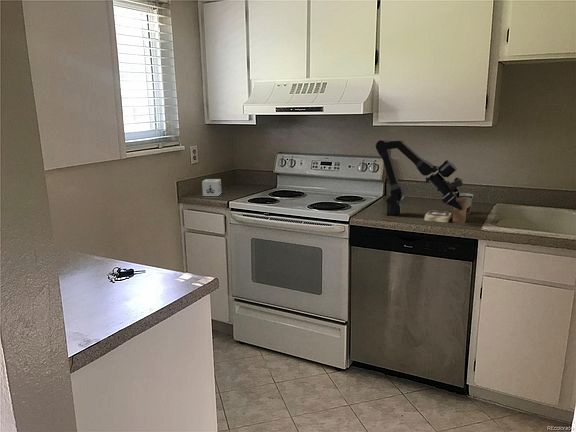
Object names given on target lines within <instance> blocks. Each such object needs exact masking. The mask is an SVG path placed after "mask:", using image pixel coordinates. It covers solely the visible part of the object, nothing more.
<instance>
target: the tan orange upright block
mask: <svg viewBox="0 0 576 432" xmlns="http://www.w3.org/2000/svg"><path fill="white" fill-rule="evenodd" d="M456 199H457V201H458V202H459V204H460V205H461V207H462V210H459V209H457V208H455V207H453V214H452V222H453V223H463V224H464V223H465V222H466V221H467V220H466V219H467V214H466V209H467V198H456Z"/></svg>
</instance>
